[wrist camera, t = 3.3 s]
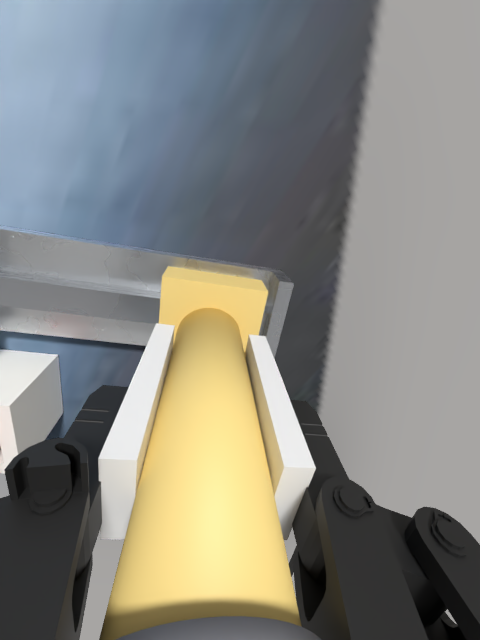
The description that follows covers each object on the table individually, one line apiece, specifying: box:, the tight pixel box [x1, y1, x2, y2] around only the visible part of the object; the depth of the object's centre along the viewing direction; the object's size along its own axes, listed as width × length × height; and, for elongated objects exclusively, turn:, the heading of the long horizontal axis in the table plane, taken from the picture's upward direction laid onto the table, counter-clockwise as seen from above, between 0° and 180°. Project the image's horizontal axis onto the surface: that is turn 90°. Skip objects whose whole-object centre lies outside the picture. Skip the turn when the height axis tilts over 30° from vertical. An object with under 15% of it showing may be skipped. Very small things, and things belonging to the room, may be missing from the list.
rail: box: [0, 225, 294, 358], centre depth 16 cm, size 17×6×3 cm, turn 80°
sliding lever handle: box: [99, 266, 321, 640], centre depth 10 cm, size 5×6×15 cm
